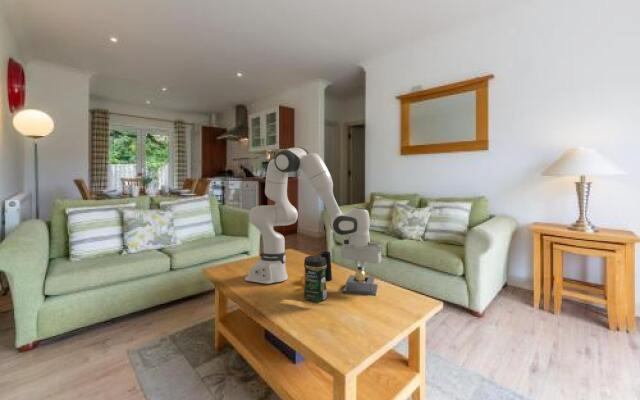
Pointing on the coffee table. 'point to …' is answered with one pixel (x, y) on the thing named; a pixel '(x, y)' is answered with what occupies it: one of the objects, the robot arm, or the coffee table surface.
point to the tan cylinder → (360, 275)
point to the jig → (360, 286)
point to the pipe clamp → (303, 279)
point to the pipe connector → (328, 269)
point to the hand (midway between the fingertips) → (360, 270)
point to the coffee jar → (315, 278)
